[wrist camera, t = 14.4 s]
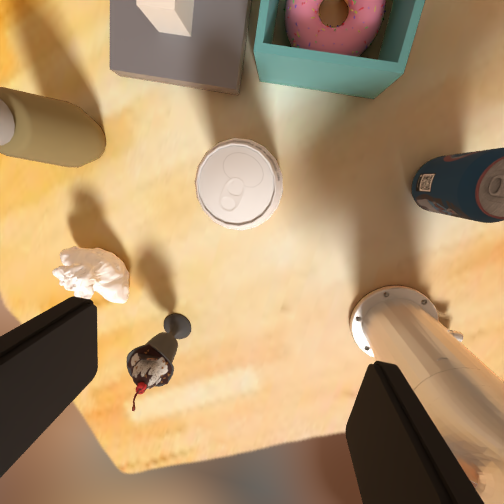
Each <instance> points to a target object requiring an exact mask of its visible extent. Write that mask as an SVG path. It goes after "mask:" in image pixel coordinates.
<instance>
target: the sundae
mask: <svg viewBox="0 0 504 504" xmlns="http://www.w3.org/2000/svg"><path fill="white" fill-rule="evenodd" d="M164 329H165V331H166V332H167V333H165V332H162V333H159V334H158V335H156V336H155V337H153V338H152V339H151V340H150V341H149V342H148V343H146V344H145V345H143V346H140V347H137V348H135V349H134V350H132V351H131V352H130V353H129V354H128V356H127V368H128V372H129V374H130V376H131V377H132V378H133V381H134V383H135V384H136V385H137V387H136V392H137V393H136V394H135V396H134V399H133V407H132V411H134V410H135V402H134V401H135V398H136V396H137V394H143V393H144V392H145V390H146V389H151V388H152V387H154V386H163V385H165V384H167V383H168V382H169V380H170V379H171V377H172V375H173V371H174V367H173V365H172V362H173V359H174V357H175V354H176V351H177V347H178V343H177V340H176V339H183V338H186V337H187V336H188V335H189V334H190V332H191V325H190V322H189V321H188V319H187V318H185V317H184V316H182V315H179V314H172V315H169V316H168V317H167V318H166V319H165V321H164Z"/></svg>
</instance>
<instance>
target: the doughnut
mask: <svg viewBox="0 0 504 504" xmlns="http://www.w3.org/2000/svg"><path fill="white" fill-rule="evenodd" d="M322 1H323V0H286V6H285V9H284V10H285V27H286V32H287V35H288V38H289V41H290V43H291V45H292V47H294V48H301V49H308V50H315V51H321V52H328V53H335V54H342V55H349V56H356V57H358V56H359V55H361V54H362V53H363V52H364V51H365V50H366V49H367V48H368V46H369V45H371V42H372V41H373V39H374V38H375V36H377V33H378V30H379V28H380V25H381V23H382V19H383V14H384V12H386V10H385V11H384V9H385V4H386V2H385V1H386V0H345V2H346V3H347V5H348V8H349V14H348V17H347V19H346V20H345V22H343V23H342V25H340V26H337V27H332V28H331V25H330V27H329V26H328V24H327V26H325V25H324V24H323V23H322V22H321V19H320V18H319V15H320V14H319V7H320V4H321V3H322ZM383 20H384V19H383Z"/></svg>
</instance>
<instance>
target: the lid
mask: <svg viewBox="0 0 504 504" xmlns="http://www.w3.org/2000/svg"><path fill="white" fill-rule="evenodd" d="M251 2H252V0H110V70H112V71H113V72H115V73H116V74H118V75H119V76H123V77H130V78H136V79H142V80H148V81H154V82H161V83H167V84H173V85H179V86H186V87H192V88H198V89H204V90H210V91H217V92H223V93H229V94H235V95H239V90H240V83H241V76H242V68H243V61H244V53H245V46H246V39H247V31H248V24H249V17H250V9H251Z"/></svg>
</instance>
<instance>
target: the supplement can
mask: <svg viewBox="0 0 504 504" xmlns="http://www.w3.org/2000/svg"><path fill="white" fill-rule="evenodd" d="M195 187H196V195H197V198H198V201H199V203H200V205H201V207H202V209H203V211H204V212H205V213H206V214H207V215H208V216H209V217H210V218H211V219H212V220H213V221H214V222H215V223H217V224H219V225H221V226H223V227H225V228H228V229H236V230H245V229H250V228H254V227H257V226H259V225H260V224H262V223H263V222H265V221H266V220H268V219H269V218H270V217H271V215H272V214H273V213H274V211H275V210H276V209H277V207H278V205H279V202H280V199H281V196H282V193H283V180H282V173H281V170H280V168H279V165H278V163H277V160H276V159H275V158H274V156H273V155H272V154H271V153H270V152H269V151H268V150H267V149H266V148H265V147H264V146H262V145H260V144H258V143H256V142H254V141H252V140H250V139H240V138H232V139H229V140H226V141H222V142H219V143H218V144H216V145H215V146H214V147H212V148H211V149H210V150H209V151H207V152H206V154H205V155H204V157H203V159H202V160H201V162H200V164H199V165H198V169H197V173H196V178H195Z"/></svg>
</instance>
